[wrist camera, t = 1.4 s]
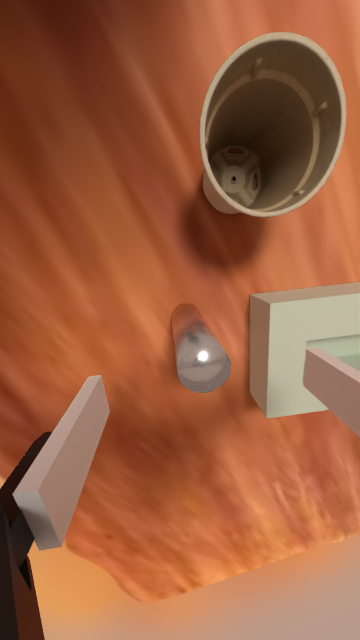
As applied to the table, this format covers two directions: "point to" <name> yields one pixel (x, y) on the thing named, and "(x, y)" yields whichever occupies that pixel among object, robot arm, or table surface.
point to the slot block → (299, 342)
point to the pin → (197, 351)
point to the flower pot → (271, 126)
